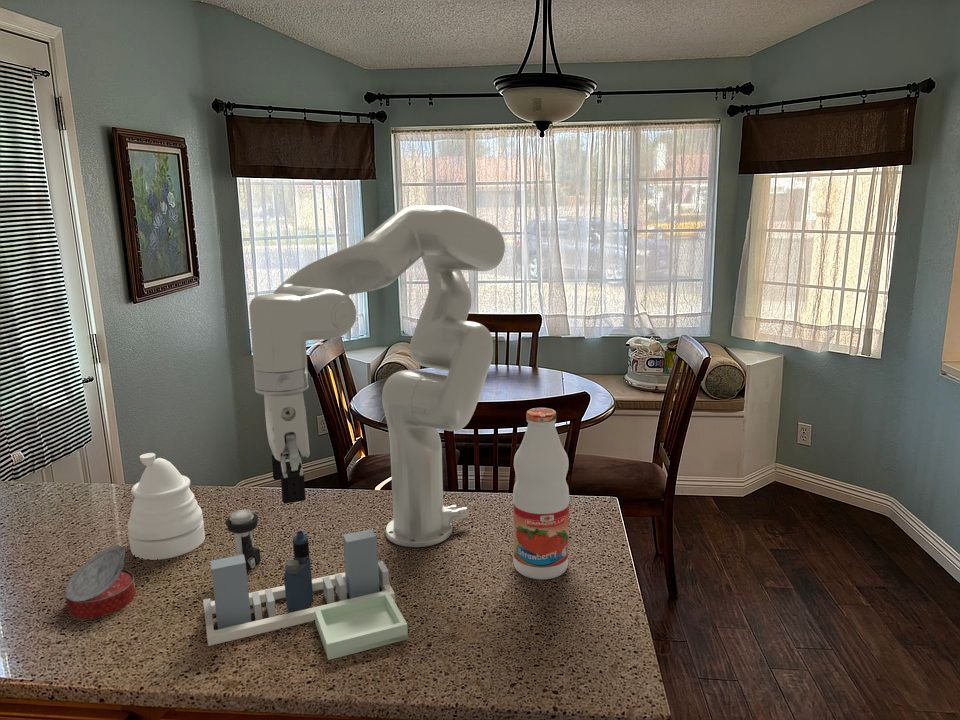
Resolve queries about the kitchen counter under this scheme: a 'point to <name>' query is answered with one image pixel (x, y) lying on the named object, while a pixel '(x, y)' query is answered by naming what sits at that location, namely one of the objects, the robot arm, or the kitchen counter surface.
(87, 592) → the canned food
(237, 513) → the push button
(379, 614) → the tray
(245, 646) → the kitchen counter surface
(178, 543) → the honey pot
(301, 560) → the vaping device
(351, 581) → the rail
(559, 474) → the fruit juice
